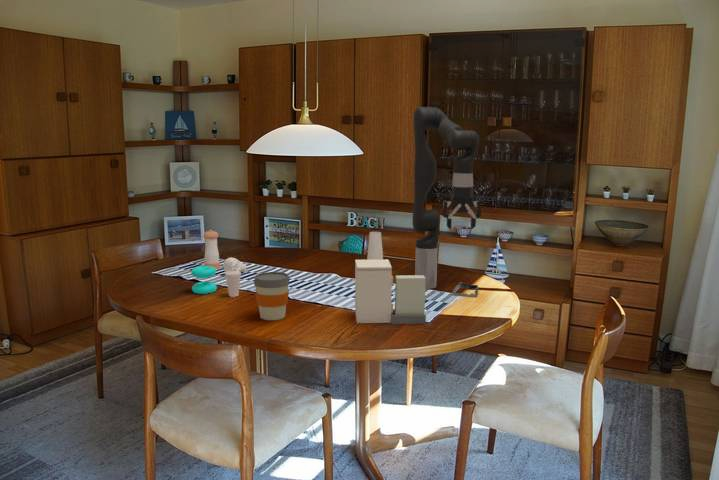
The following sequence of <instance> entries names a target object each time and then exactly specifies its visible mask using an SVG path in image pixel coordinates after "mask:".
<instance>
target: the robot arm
mask: <svg viewBox="0 0 719 480" xmlns="http://www.w3.org/2000/svg"><path fill="white" fill-rule="evenodd" d="M435 130H438V134H439V136H440V137H441V138H442V139H444V140H445V141H447V143H448V145H449V147H450V148H451V149H453V150H457V151H464V153H463V154H462V155H460V156H456V157H455V158H454V160H453V170H452V171H453V174H452V179H451V180H452V182H451V183H452V184H451V185H452V186H451V200H450V201H447V200H443V201H442V211H441V217H443V218H445V219H446V227H447V228H448V229H449V230H452V221H453V219H452V218H453V216H454V215H455V214H456V213H459V214H460V213H466V214H467V213H468V214H469V215H470V216H471V218H470V229H472V230H474V229H475V228H476V222H477V221H476V220H477V219H478V218H481V217H482V202H481V200H475V201H474V200H473V191H474V190H473V189H474V188H473V187H474V175H473V174H474V173H473V172H474V161H475V157H476V154H477V150H478V146H479V143H480V138H479V134H478V133H477V132H476V131H475V130H463V128H462V127H461V126H460V125H458V124H457V123H454V122H453V121H451V120H450V119H449V118H448V116H447V115H446V114H445V113H444V112H443V111H442V110H441V109H440V108H439V107H433V106H432V107H431V106H417V107H416V108H415V109H414V112H413V135H414V136H413V137H414V138H413V139H414V164H413V165H414V168H413V173H414V174H413V175H414V177H413V179H414V183H413V185H414V192H413V194H414V195H413V206H412V207H413V208H412V209H413V210H412V228H413V230H414V231H415V232H419V233H420V232H422V233H424V232H428V233H426V234H425V235H424V236H422V237H419V238H418V239H417V240H415V265H414V271H415V273H414V275H424V277H425V290H428V289H429V290H431V289H435V288H437V278H438V276H437V274H438V245H439V232H440V220H441V219H440V213H439V211H438V210H437V209H433V208H432V209H424V208H423V207H424V202H425V200H426V198H427V195H428V193H429V191H431V189H432V188H433V186H434V184H435V182H436V180H437V172H438V171H437V170H438V169H437V168H438V167H437V165H438V164H437V159H436V158H435V155H434V154H433V152H432V150H431V149H430V147H429V146H428V143H427V139H426V131H435ZM450 206H451V207H452V208H451V209H450V210H449V212H448V208H449V207H450ZM473 206H474V207H475V212H476V213H474V211H473V209H472V208H473ZM447 213H448V214H447Z"/></svg>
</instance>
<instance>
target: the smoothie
mask: <svg viewBox="0 0 719 480" xmlns="http://www.w3.org/2000/svg"><path fill="white" fill-rule="evenodd" d="M224 276H225V280H226V285H227V291H228V297H229V296H230V297H229V298H235V297H236V296H237V297H238V296H239V294H240V292H239V291H240V285H241V283H240V282H241V280H240V279H241V276H242V273H241V272H240V271H233V263H232V262H231V271H228V272H225V271H224Z"/></svg>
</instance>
